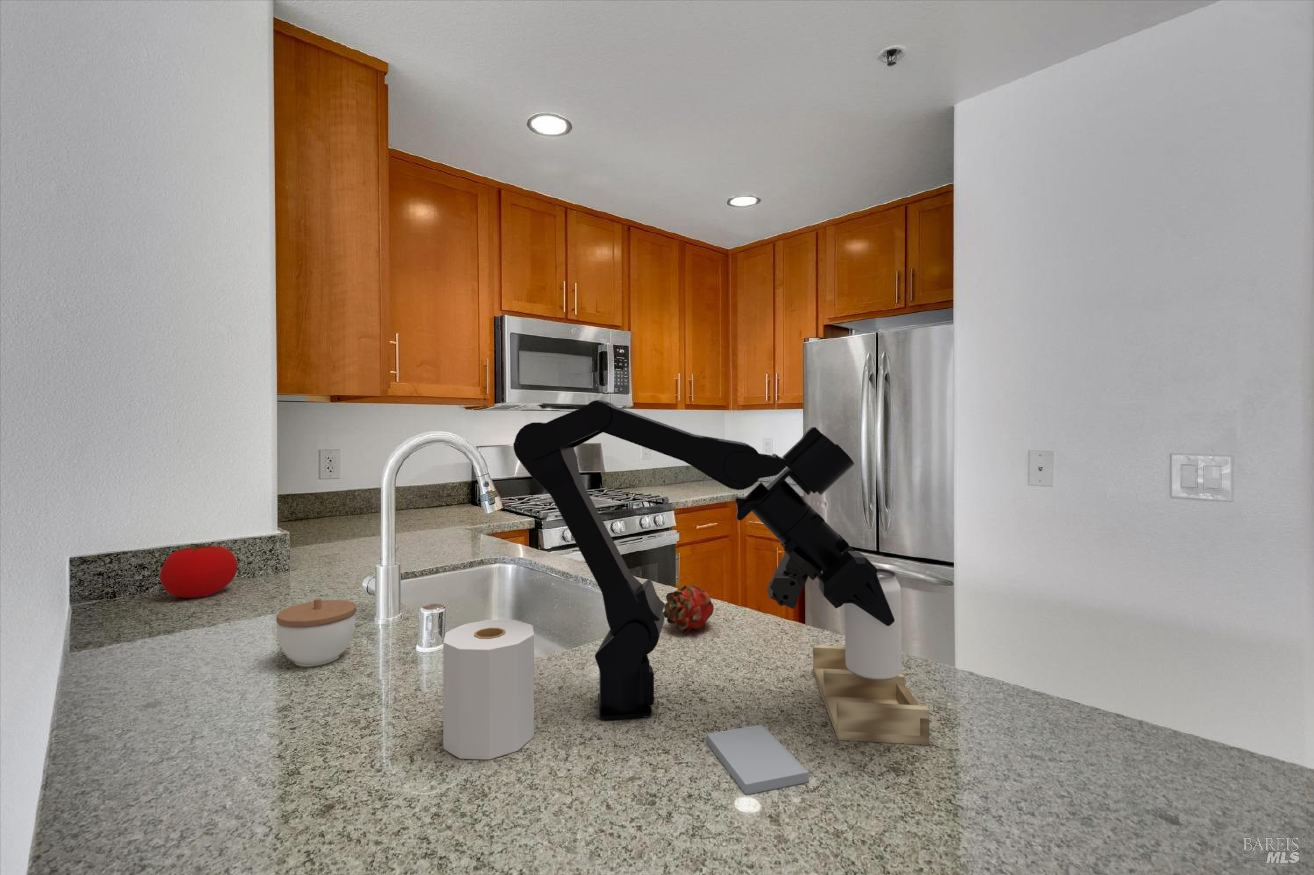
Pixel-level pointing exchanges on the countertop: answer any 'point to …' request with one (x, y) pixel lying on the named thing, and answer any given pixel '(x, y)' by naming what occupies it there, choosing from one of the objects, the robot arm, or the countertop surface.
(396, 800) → the countertop surface
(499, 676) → the toilet paper
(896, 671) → the can
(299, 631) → the lidded jar
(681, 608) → the dragon fruit
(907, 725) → the rack
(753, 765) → the block
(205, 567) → the tomato
